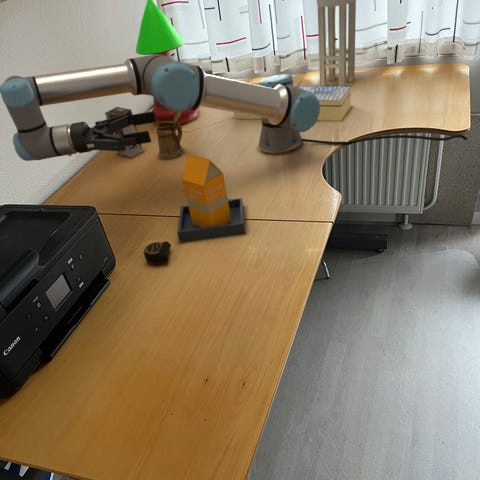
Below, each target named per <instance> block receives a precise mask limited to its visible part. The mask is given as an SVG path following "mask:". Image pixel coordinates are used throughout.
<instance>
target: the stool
mask: <svg viewBox="0 0 480 480" xmlns="http://www.w3.org/2000/svg"><path fill="white" fill-rule="evenodd" d="M316 5H317V31H318V32H317V33H318V37H317V38H318V67H319V68H318V69H319V70H318V71H319V86H326V87H327V86H328V85H327V82H328V81H330V82H334V81H335V80H336V69H338V87H340V86H343V87H345V86H347V82H349V83H351V82H352V83H353V82H354V81H355V80H356V79H355V78H356V77H355V75H356V74H355V72H356V22H357V21H356V19H357V18H356V17H357V15H356V13H357V0H316ZM347 5H348V6H347ZM336 7H338V49H336ZM326 8H327V22H326ZM347 11H348V12H347ZM326 23H327V28H326ZM326 29H327V31H326ZM326 38H327V39H326ZM327 51H328V52H327ZM336 54H338V55H336ZM327 61H328V63H327ZM336 62H338V63H336ZM327 69H328V73H327ZM327 74H328V81H327Z"/></svg>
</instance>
